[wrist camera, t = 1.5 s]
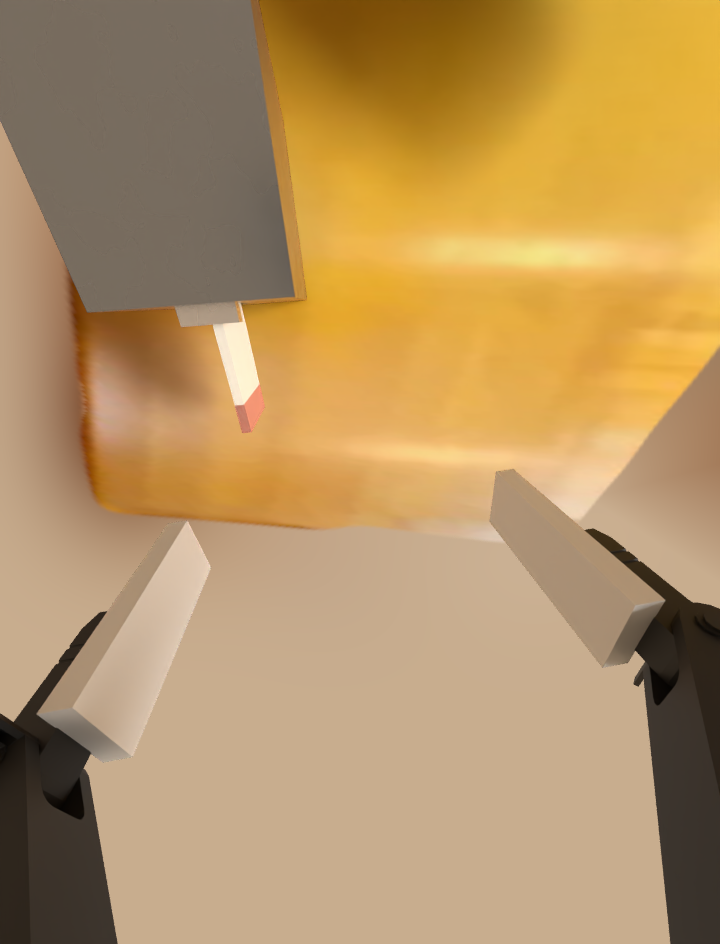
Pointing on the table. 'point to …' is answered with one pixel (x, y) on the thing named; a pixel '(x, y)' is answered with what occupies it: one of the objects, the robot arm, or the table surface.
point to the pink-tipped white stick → (240, 371)
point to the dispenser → (154, 151)
